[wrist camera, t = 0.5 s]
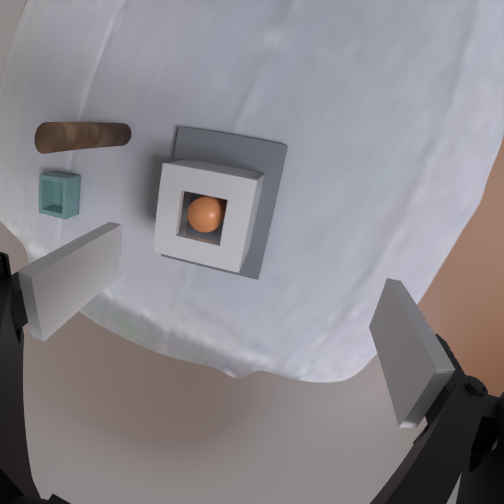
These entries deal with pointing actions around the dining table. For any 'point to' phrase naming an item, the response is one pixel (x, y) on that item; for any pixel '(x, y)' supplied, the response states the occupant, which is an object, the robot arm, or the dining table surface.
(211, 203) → the button
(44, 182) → the box
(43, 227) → the dining table surface
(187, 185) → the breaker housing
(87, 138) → the brown wooden rod
